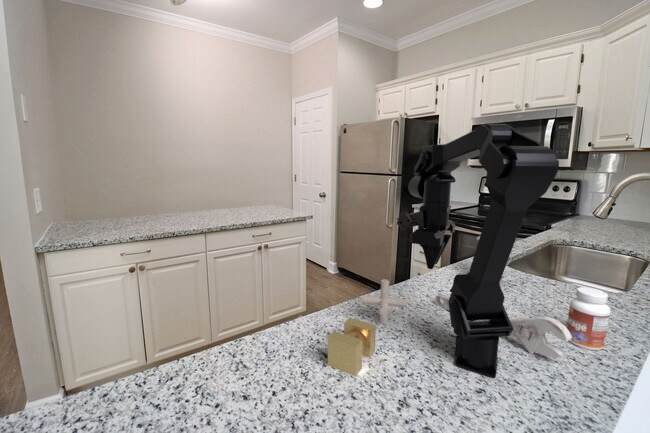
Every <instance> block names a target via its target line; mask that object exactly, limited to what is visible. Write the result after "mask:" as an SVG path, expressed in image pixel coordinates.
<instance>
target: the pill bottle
mask: <svg viewBox="0 0 650 433" xmlns="http://www.w3.org/2000/svg"><path fill="white" fill-rule="evenodd" d="M575 295H576V297H574V298H572V299H571V300H570V303H569V309H568V316H567V323H566V328H567V329H568V330H569V332H570V334H571V336H572V338H571V340H569V341H568V342H569V343H572V344H573V345H575V346H577V347H580V348H582V349H584V350H585V349H586V350H588V351H600V350H603V349H604V348H605V345H606V340H607V333H608V328H609V323H610V318H611V309H610V308H611V307H609V305H608V304H607V302H608V299H609V298H608V297H609V295H608V294H607V293H606V292H605V291H602V290H600V289H596V288H593V287H585V286H581V287H577V289H576V292H575Z"/></svg>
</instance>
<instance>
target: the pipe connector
mask: <svg viewBox="0 0 650 433" xmlns="http://www.w3.org/2000/svg"><path fill="white" fill-rule="evenodd" d="M389 289H390V280H389V279H386V278H385V279H384V278H382V279H381V280H380V296H375V295H365V294H364V295H362V298H361V299H362V300H361V303H362V304H366V305H375V306H376V305H378V306H379V323H380V324H383V325H385V324H388V320H389V307H398V308H408V299H407V298H400V297H399V298H397V297H389V296H390V295H389V293H390V290H389Z"/></svg>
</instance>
